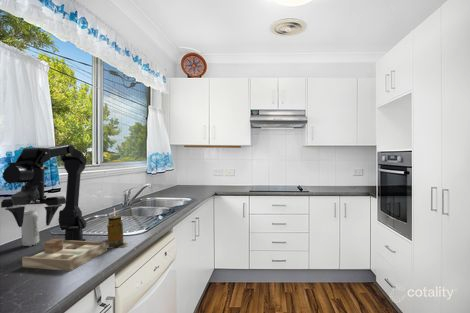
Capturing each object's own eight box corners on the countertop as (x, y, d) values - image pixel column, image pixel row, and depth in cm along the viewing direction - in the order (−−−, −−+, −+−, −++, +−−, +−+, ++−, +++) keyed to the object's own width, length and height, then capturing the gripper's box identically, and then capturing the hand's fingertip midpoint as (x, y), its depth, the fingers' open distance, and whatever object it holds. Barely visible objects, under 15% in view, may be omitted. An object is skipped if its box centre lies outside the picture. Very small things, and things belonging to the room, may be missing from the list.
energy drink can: (26, 243, 120) (24, 210, 120) (41, 241, 122) (40, 208, 122) (19, 247, 115) (17, 213, 114) (35, 246, 116) (33, 211, 116)
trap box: (65, 248, 112) (64, 240, 112) (106, 250, 108) (106, 242, 108) (22, 267, 94) (22, 257, 94) (70, 270, 90) (69, 260, 90)
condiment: (110, 242, 118) (109, 215, 117) (130, 241, 119) (129, 214, 118) (104, 248, 110) (103, 219, 110) (125, 247, 111) (124, 218, 111)
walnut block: (54, 248, 105) (53, 238, 105) (62, 249, 104) (62, 239, 104) (44, 252, 101) (44, 242, 101) (53, 253, 100) (53, 242, 100)
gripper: (-12, 184, 88) (-13, 232, 87) (48, 182, 89) (48, 229, 88) (13, 182, 99) (12, 225, 98) (66, 181, 100) (66, 223, 99)
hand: (34, 226), depth 95 cm, fingers open, 9 cm apart
